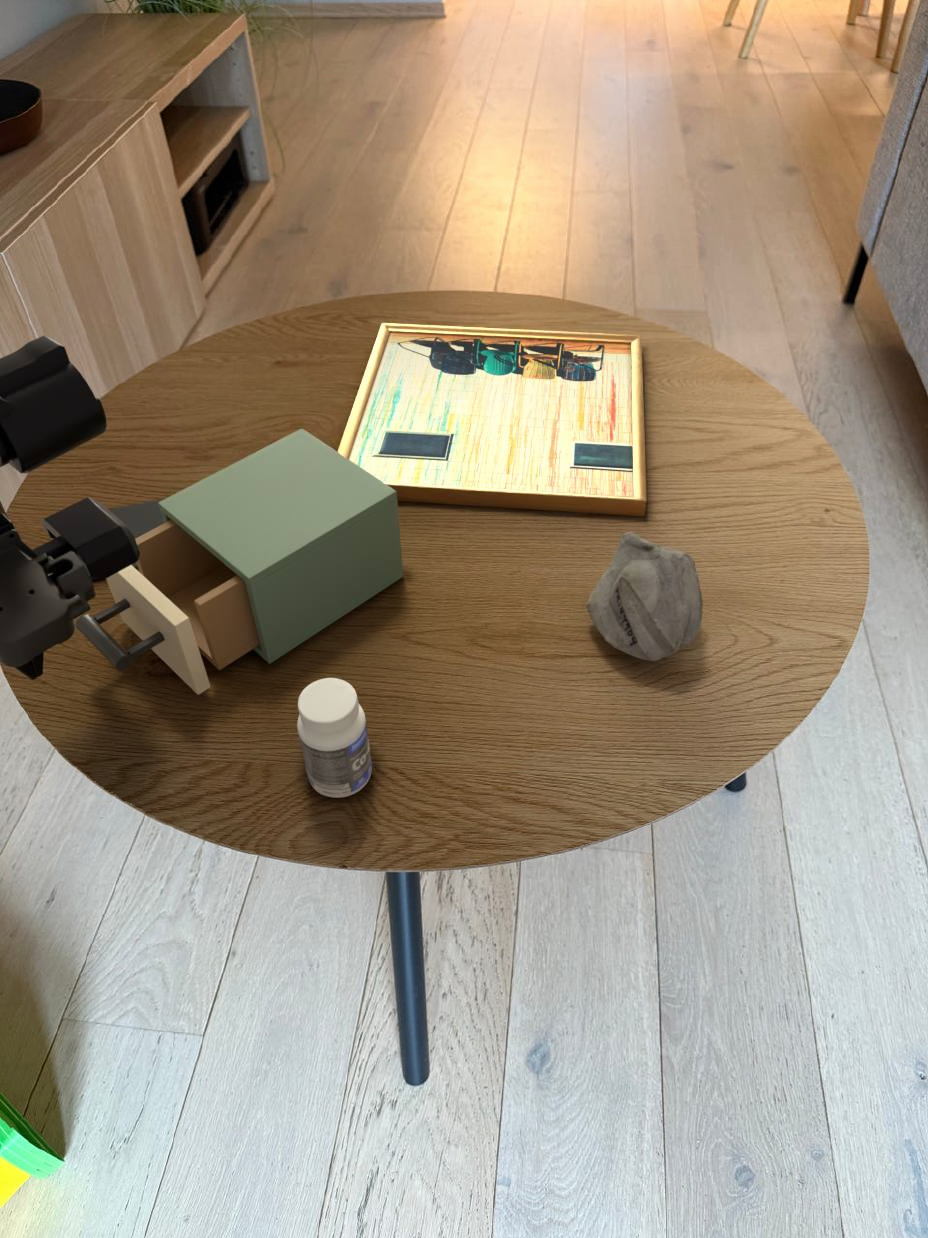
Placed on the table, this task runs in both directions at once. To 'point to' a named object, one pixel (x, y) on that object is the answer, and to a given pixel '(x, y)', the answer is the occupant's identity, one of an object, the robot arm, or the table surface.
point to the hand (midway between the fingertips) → (34, 674)
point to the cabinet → (296, 535)
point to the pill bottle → (334, 738)
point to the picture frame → (503, 418)
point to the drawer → (177, 608)
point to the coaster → (139, 519)
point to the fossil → (647, 599)
